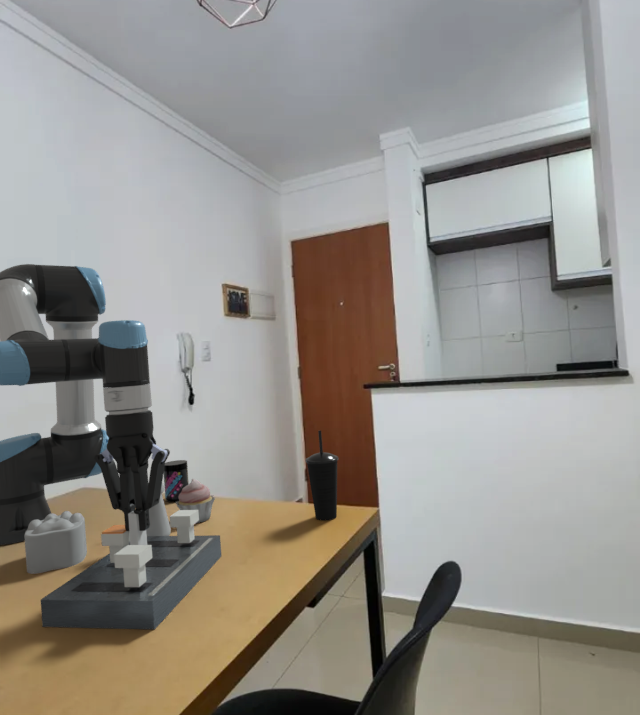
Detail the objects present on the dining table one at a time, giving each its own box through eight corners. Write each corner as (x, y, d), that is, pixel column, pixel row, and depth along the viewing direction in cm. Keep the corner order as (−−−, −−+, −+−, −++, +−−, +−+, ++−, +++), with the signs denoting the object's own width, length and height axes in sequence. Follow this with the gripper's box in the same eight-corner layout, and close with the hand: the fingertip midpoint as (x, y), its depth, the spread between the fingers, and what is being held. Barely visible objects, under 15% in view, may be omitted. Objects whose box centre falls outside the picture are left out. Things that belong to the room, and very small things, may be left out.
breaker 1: (116, 589, 71) (114, 554, 71) (130, 578, 74) (127, 545, 74) (141, 589, 70) (138, 554, 70) (154, 578, 74) (151, 544, 74)
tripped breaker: (103, 564, 81) (100, 532, 81) (116, 556, 84) (113, 524, 84) (124, 564, 80) (122, 532, 80) (136, 555, 83) (134, 524, 84)
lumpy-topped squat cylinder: (22, 576, 90) (19, 530, 90) (36, 552, 102) (33, 512, 102) (83, 564, 93) (80, 520, 94) (89, 542, 106) (87, 503, 106)
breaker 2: (171, 544, 88) (169, 516, 88) (180, 537, 91) (178, 510, 91) (192, 544, 87) (189, 516, 87) (200, 537, 90) (198, 509, 90)
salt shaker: (162, 549, 98) (157, 486, 98) (137, 549, 99) (132, 486, 99) (176, 538, 104) (172, 478, 104) (152, 538, 105) (148, 479, 105)
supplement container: (161, 500, 136) (158, 463, 136) (183, 494, 141) (180, 459, 141) (171, 504, 131) (168, 466, 131) (194, 498, 136) (191, 461, 136)
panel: (42, 626, 71) (40, 599, 71) (136, 556, 95) (134, 536, 95) (154, 629, 67) (152, 600, 67) (221, 556, 92) (219, 535, 92)
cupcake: (192, 512, 122) (189, 473, 122) (223, 514, 118) (220, 474, 119) (168, 525, 113) (165, 483, 113) (201, 527, 110) (198, 484, 110)
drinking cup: (332, 524, 105) (325, 433, 105) (303, 520, 109) (296, 433, 109) (348, 513, 111) (342, 428, 112) (321, 510, 115) (314, 427, 116)
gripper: (80, 416, 79) (90, 558, 79) (152, 411, 77) (163, 558, 77) (107, 411, 86) (117, 541, 86) (174, 406, 84) (184, 540, 84)
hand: (139, 549), depth 81 cm, fingers closed
